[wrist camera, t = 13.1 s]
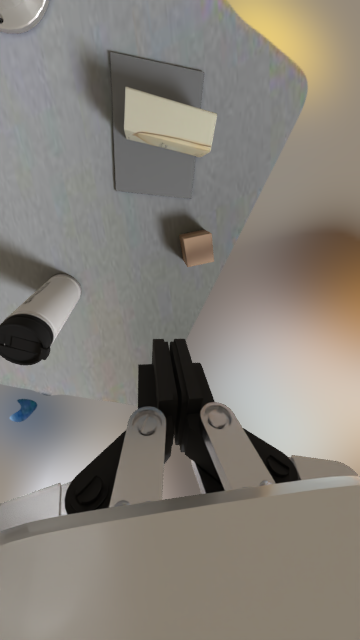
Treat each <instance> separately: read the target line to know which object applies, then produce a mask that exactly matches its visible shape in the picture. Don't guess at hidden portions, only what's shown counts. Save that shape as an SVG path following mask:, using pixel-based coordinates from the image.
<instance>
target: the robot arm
mask: <svg viewBox="0 0 360 640" xmlns="http://www.w3.org/2000/svg"><path fill="white" fill-rule="evenodd" d="M48 3H49V0H0V32H4V33H8V34H19V33H23V32H27V31H29V30H30V29H32V28H33V27H35V26H36V25H37V24H38V23H39V22H40V20H41V19H42V18H43V16H44V14H45V12H46V10H47V7H48ZM2 20H3V23H2V24H1V21H2ZM173 437H174V438H175V444H176V445H180V450H181V452H185V455H186V456H188V457H189V458H190V459H191V463H192V467H193V470H194V473H195V476H196V479H197V482H198V485H199V488H200V491H201V494H200V495H193V496H186V497H179V498H172V499H165V500H162V489H163V472H164V464H165V462H166V461H167V460H168V458H169V457H170V455H171V446H172V444H173ZM0 640H360V476H358V474H357V473H356V472H355V471H353V470H352V469H351V468H350V467H348V466H347V465H345V464H343V463H341V462H337V461H330V460H324V459H316V458H309V457H302V456H295V455H292V456H291V457H287V456H286V455H285V454H283V453H282V452H281V451H279V450H277V449H276V448H274V447H273V446H271V445H269V444H267V443H266V442H265V441H263V440H261V439H260V438H258V437H257V436H255V435H253V434H252V433H250V432H248V431H247V430H245V429H244V428H242V426H241V425H240V423H239V421H238V420H237V418H236V417H235V415H234V413H233V412H232V411H231V409H230V408H228V407H227V406H226V405H224V404H221V403H217V402H214V400H213V396H212V394H211V391H210V388H209V385H208V382H207V379H206V377H205V374H204V371H203V368H202V366H201V364H200V363H192V360H191V357H190V354H189V350H188V348H187V344H186V341H185V339H174V342H170V351H169V346H168V342H164V339H153V352H152V364H146V365H139V374H138V409H137V410H136V411H135V412H133V414H132V415H131V416H130V419H129V421H128V425H127V430H126V431H125V432H123V433H122V434H121V435H120V436H119V437H118V438H117V439H116V440H115V441H114V442H113V443H112V444H111V445H109V447H107V448H106V449H105V450H104V451H103V452H102V453H101V454H100V455H99V456H98V457H96V458H95V459H94V460H93V461H92V462H91V463H90V464H89V465H88V466H87V467H86V468H85V469H84V470H82V471H81V472H80V473H79V474H78V475H77V476H76V477H75V479H74V480H73V481H72V482H69V483H67V484H63V485H61V484H60V483H58V484H55V485H52V486H50V487H47V488H44V489H41V490H38V491H35V492H32V493H30V494H27V495H24V496H21V497H18V498H16V499H13V500H10V501H7V502H4V503H1V504H0Z"/></svg>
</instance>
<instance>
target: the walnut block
mask: <svg viewBox="0 0 360 640" xmlns="http://www.w3.org/2000/svg"><path fill="white" fill-rule="evenodd" d="M179 237H180V243H181V249H182V255H183V261H184V262H185V264H186V265H187V267H191V266H195V265H200V264H204V263H209V262H214V257H213V245H212V234H211V233H210V232H208V231H206V230H200V231H195V232H191V233H186V234H181V235H179Z"/></svg>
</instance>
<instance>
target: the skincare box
mask: <svg viewBox="0 0 360 640" xmlns="http://www.w3.org/2000/svg"><path fill="white" fill-rule="evenodd" d="M216 118H217V114H216V113H213V112H209V111H206V110H203V109H199V108H196V107H193V106H189V105H186V104H183V103H179V102H176V101H173V100H169V99H166V98H163V97H159V96H156V95H152V94H149V93H146V92H143V91H139V90H136V89H133V88H129V87H125V114H124V132H125V135H126V139H128V140H132V141H137V142H141V143H145V144H149V145H153V146H158V147H162V148H166V149H170V150H174V151H178V152H182V153H186V154H190V155H193V156H197V157H202V156H204V155H205V154H207V153H209V152H210V150H211V145H212V141H213V135H214V130H215V124H216Z"/></svg>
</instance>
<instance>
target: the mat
mask: <svg viewBox="0 0 360 640" xmlns="http://www.w3.org/2000/svg"><path fill="white" fill-rule="evenodd" d="M110 61H111V85H112V109H113V133H114V157H115V180H116V191H122V192H131V193H140V194H150V195H159V196H168V197H178V198H187V199H191V198H192V188H193V178H194V168H195V158H196V156H193V155H190V154H186V153H182V152H178V151H174V150H170V149H166V148H162V147H158V146H153V145H149V144H145V143H141V142H137V141H132V140H128V139H126V135H125V132H124V114H125V87H129V88H133V89H136V90H139V91H143V92H146V93H149V94H152V95H156V96H159V97H163V98H166V99H169V100H173V101H176V102H179V103H183V104H186V105H189V106H193V107H196V108H199V109H201V100H202V90H203V80H204V72H201V71H196V70H192V69H187V68H183V67H178V66H173V65H169V64H164V63H159V62H155V61H150V60H146V59H141V58H136V57H132V56H127V55H122V54H118V53H113V52H110Z"/></svg>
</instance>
